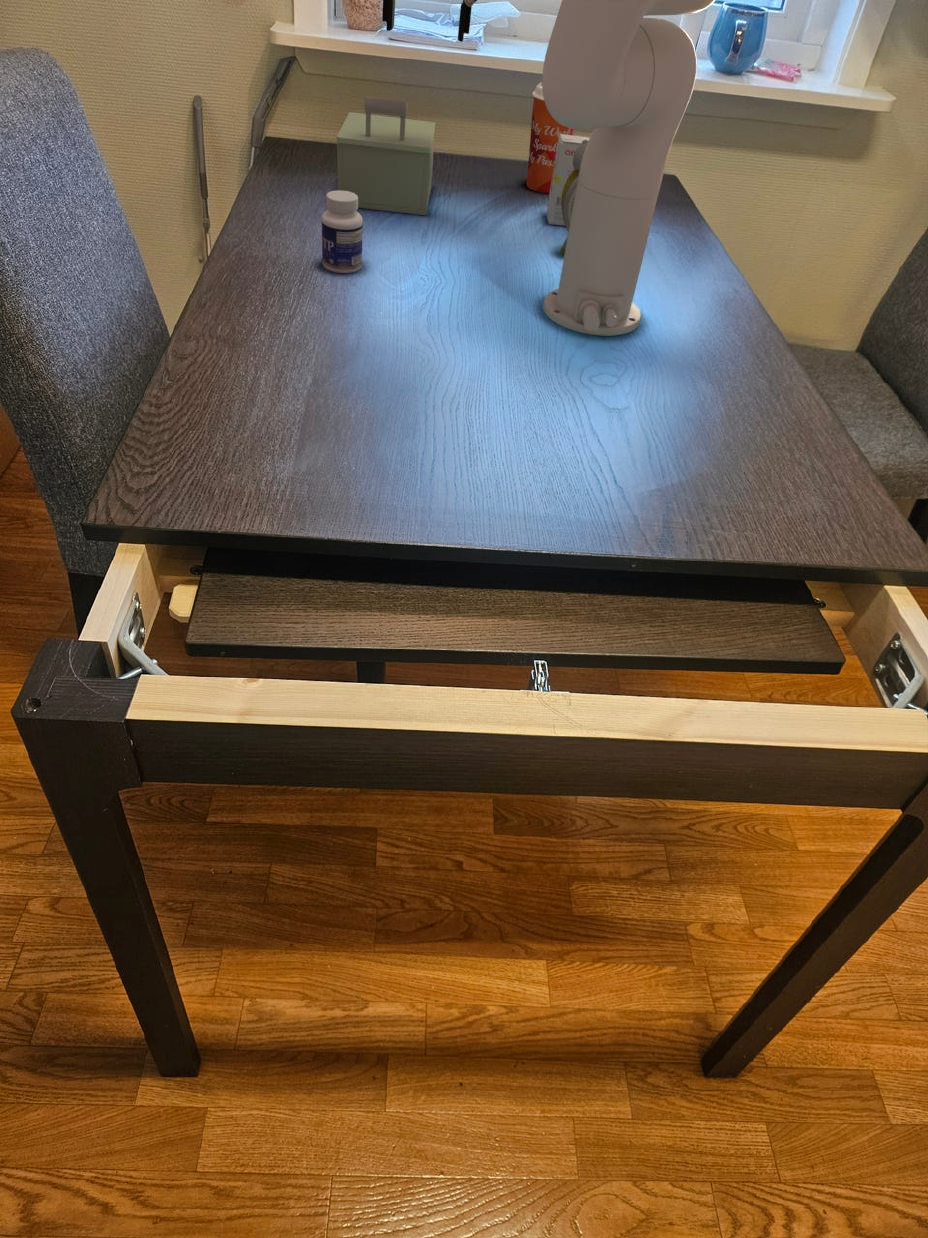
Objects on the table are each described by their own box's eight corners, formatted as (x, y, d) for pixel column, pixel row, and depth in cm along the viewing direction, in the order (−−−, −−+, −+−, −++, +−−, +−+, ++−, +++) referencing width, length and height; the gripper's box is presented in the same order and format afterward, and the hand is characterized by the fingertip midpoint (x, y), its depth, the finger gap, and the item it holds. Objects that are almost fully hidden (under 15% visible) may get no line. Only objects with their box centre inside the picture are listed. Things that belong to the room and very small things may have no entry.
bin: (426, 215, 130) (430, 152, 124) (337, 205, 129) (337, 141, 123) (431, 187, 140) (435, 127, 134) (348, 177, 139) (349, 117, 133)
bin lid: (429, 153, 123) (432, 108, 119) (336, 142, 123) (336, 96, 119) (435, 127, 134) (437, 85, 130) (349, 117, 133) (349, 74, 129)
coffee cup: (514, 189, 144) (528, 87, 133) (526, 176, 149) (540, 77, 139) (562, 198, 142) (579, 96, 132) (572, 185, 148) (589, 86, 138)
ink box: (598, 219, 137) (614, 137, 128) (601, 230, 133) (618, 147, 125) (545, 213, 136) (558, 131, 128) (547, 224, 132) (560, 140, 124)
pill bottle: (317, 259, 113) (315, 188, 107) (354, 257, 115) (354, 187, 109) (329, 275, 110) (329, 203, 104) (367, 272, 112) (369, 201, 106)
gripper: (362, -144, 99) (358, 30, 111) (507, -121, 100) (487, 49, 112) (370, -147, 105) (365, 19, 117) (507, -125, 106) (489, 37, 118)
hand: (425, 33), depth 115 cm, fingers open, 9 cm apart
